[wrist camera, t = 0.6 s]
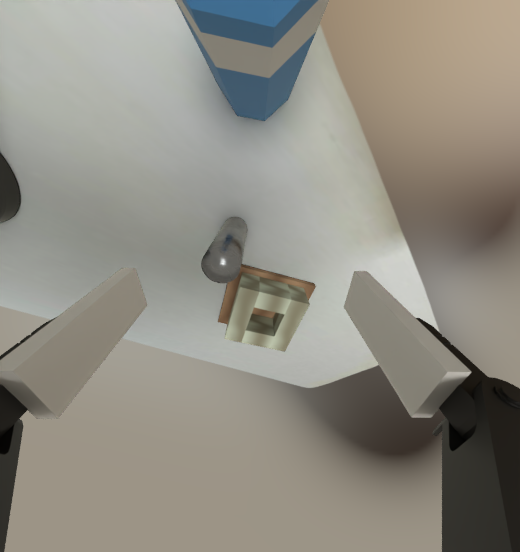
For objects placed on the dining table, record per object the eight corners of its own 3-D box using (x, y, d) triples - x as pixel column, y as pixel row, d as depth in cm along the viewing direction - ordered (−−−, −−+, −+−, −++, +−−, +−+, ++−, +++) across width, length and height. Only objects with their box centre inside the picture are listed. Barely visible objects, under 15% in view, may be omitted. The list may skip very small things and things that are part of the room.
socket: (218, 318, 42) (212, 340, 37) (233, 262, 35) (228, 278, 30) (288, 334, 44) (292, 356, 39) (314, 283, 38) (323, 302, 32)
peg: (221, 236, 33) (198, 277, 21) (226, 213, 31) (204, 243, 19) (244, 243, 34) (235, 286, 21) (250, 220, 32) (244, 254, 19)
